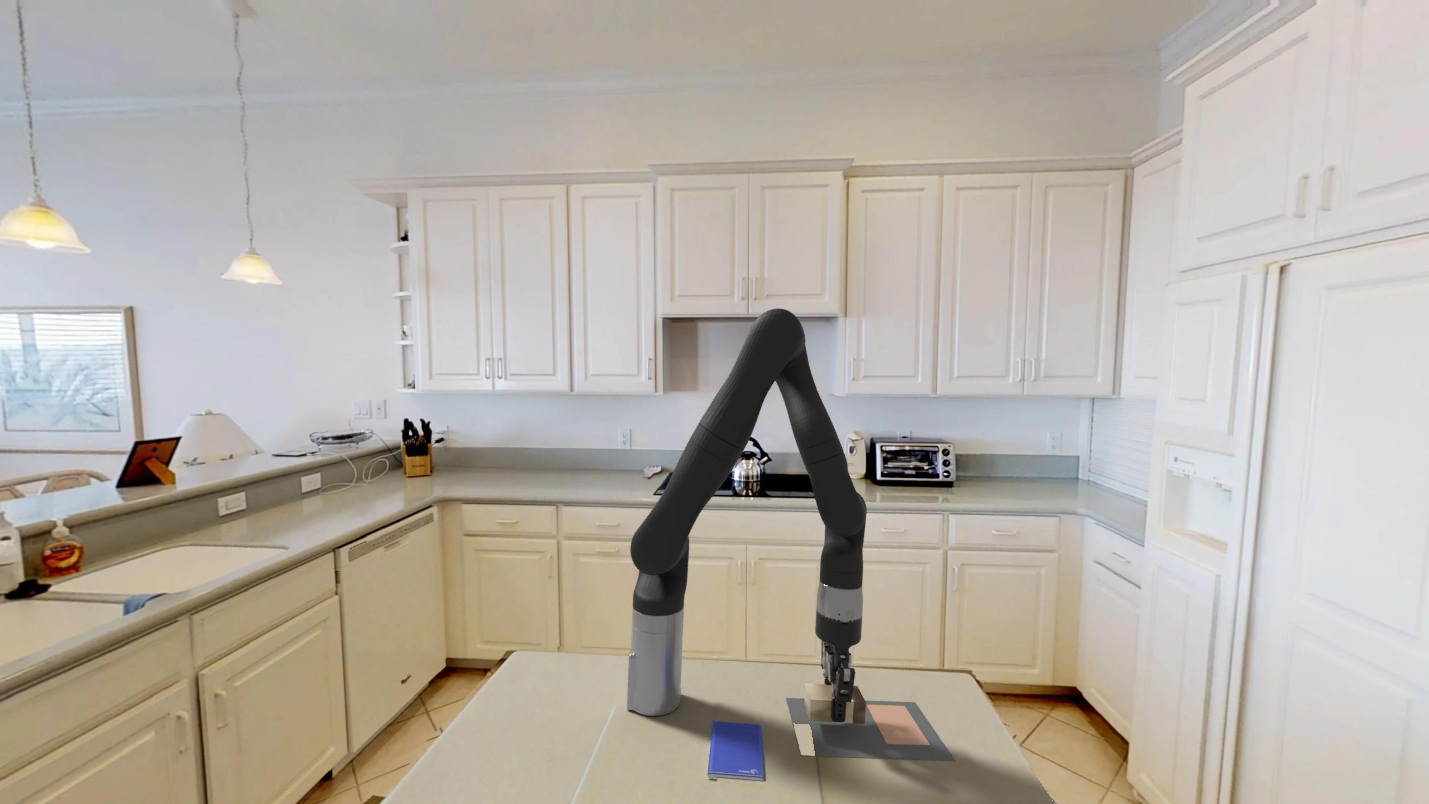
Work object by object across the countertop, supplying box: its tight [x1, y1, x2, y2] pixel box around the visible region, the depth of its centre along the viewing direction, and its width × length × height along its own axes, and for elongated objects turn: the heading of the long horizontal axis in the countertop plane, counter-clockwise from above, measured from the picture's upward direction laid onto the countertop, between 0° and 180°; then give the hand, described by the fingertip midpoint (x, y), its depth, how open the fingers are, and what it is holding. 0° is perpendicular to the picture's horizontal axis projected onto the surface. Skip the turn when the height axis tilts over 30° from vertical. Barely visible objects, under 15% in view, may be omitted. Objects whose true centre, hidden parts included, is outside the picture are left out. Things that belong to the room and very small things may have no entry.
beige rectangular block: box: [804, 682, 866, 724], centre depth 88 cm, size 9×5×4 cm, turn 90°
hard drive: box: [706, 720, 765, 781], centre depth 82 cm, size 2×8×12 cm
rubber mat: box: [785, 697, 956, 762], centre depth 89 cm, size 24×16×1 cm, turn 90°
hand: (834, 710), depth 88 cm, fingers closed on beige rectangular block, 5 cm apart
